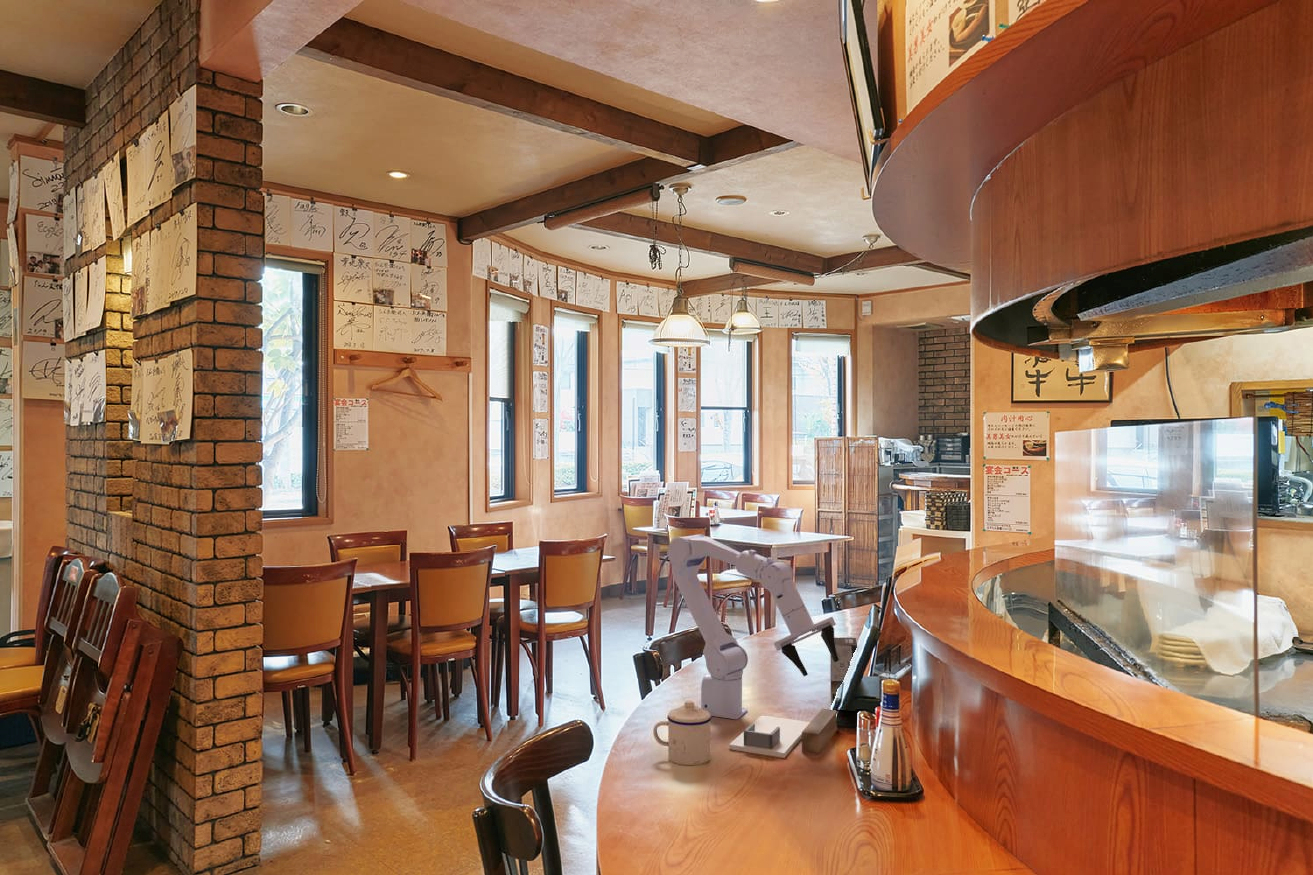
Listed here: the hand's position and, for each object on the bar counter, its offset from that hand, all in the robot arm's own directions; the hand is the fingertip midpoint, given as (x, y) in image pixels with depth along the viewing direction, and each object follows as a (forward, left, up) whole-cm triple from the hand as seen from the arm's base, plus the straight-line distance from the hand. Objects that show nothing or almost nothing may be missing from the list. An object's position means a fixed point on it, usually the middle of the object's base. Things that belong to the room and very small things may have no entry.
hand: (821, 668), depth 196 cm
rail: (+1, -3, -15) cm, 15 cm away
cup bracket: (-9, -6, -15) cm, 19 cm away
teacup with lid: (-22, -26, -15) cm, 38 cm away
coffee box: (0, +24, -15) cm, 28 cm away
